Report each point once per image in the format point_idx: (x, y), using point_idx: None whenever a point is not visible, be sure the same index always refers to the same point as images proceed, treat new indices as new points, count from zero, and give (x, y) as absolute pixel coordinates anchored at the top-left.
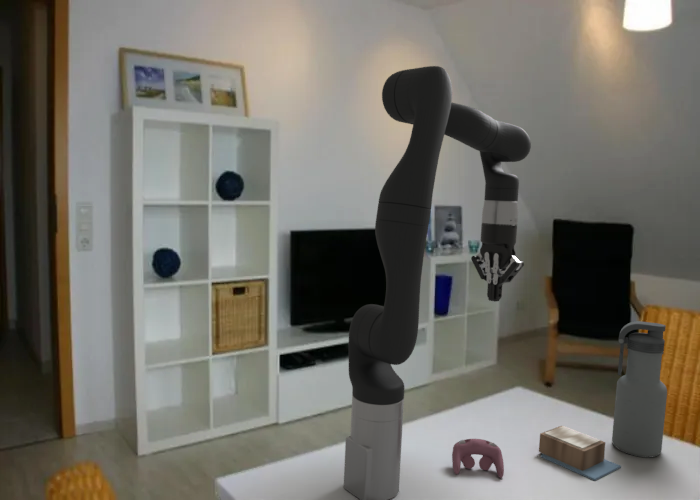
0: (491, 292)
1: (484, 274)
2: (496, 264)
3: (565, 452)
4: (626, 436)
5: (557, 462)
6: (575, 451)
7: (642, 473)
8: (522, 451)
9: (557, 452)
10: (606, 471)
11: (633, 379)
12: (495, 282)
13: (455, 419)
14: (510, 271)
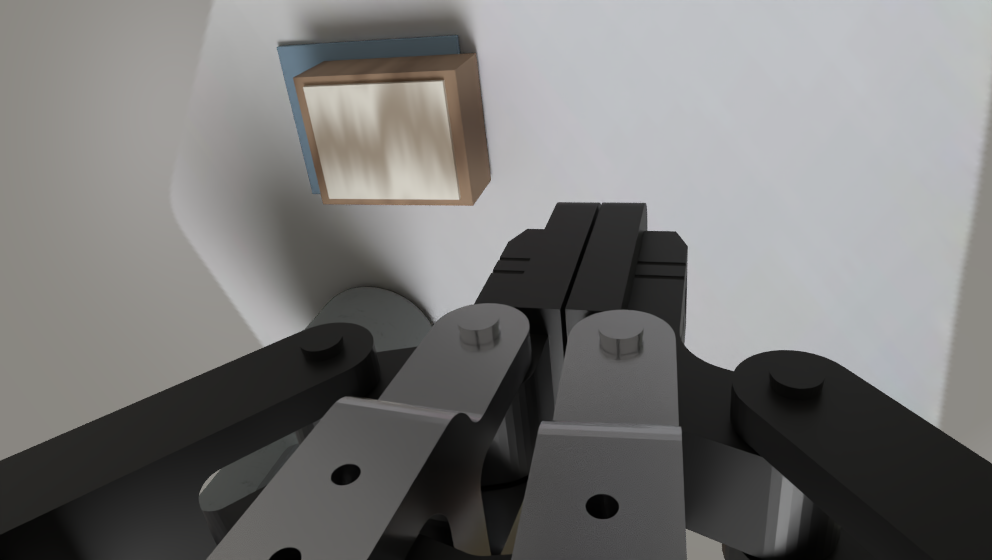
0: (584, 246)
1: (760, 432)
2: (265, 555)
3: (366, 66)
4: (348, 309)
5: (394, 40)
6: (327, 73)
7: (274, 208)
8: (517, 12)
9: (399, 63)
10: (299, 122)
11: (268, 446)
12: (464, 316)
13: (902, 8)
14: (53, 457)
